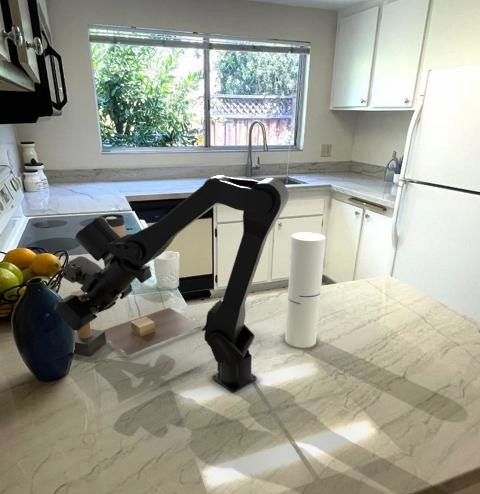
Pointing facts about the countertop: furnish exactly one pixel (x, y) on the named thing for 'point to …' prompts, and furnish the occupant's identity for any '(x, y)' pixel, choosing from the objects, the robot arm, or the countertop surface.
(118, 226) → the travel mug
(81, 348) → the stamp
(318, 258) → the cylindrical container
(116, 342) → the cutting board
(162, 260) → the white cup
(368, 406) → the countertop surface
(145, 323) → the tan wooden block
